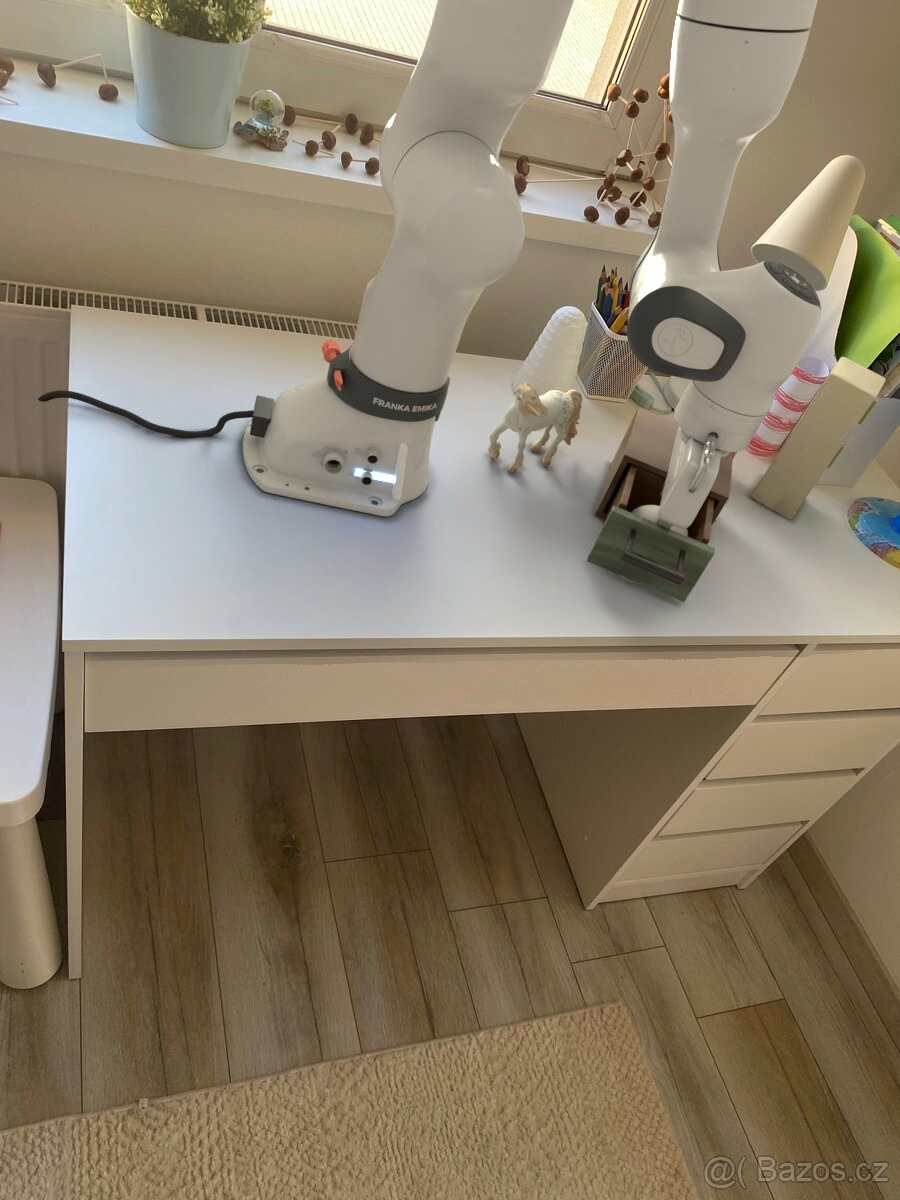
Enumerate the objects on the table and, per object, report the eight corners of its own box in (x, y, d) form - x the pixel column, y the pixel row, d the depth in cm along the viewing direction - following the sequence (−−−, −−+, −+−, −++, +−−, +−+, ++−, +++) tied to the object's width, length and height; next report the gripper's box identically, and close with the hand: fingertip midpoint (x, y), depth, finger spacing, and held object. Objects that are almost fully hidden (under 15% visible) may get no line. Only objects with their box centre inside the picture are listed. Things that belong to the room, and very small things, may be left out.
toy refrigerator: (795, 524, 129) (881, 398, 115) (749, 497, 131) (829, 371, 117) (807, 502, 135) (891, 380, 121) (763, 477, 136) (841, 354, 123)
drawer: (679, 633, 102) (711, 583, 97) (577, 589, 103) (604, 538, 97) (692, 544, 116) (721, 497, 111) (602, 507, 116) (627, 458, 111)
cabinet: (693, 556, 116) (728, 498, 109) (594, 515, 116) (624, 454, 110) (701, 502, 126) (734, 446, 120) (610, 464, 126) (638, 406, 120)
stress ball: (663, 568, 114) (685, 519, 113) (677, 573, 106) (701, 521, 105) (608, 545, 114) (630, 496, 113) (618, 548, 106) (642, 495, 105)
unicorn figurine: (456, 476, 114) (488, 385, 105) (528, 426, 127) (562, 342, 119) (503, 506, 112) (539, 415, 103) (570, 452, 126) (608, 368, 117)
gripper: (740, 472, 90) (678, 573, 99) (748, 389, 106) (694, 482, 115) (681, 447, 90) (624, 550, 99) (698, 367, 106) (648, 462, 115)
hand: (662, 513), depth 107 cm, fingers open, 7 cm apart
